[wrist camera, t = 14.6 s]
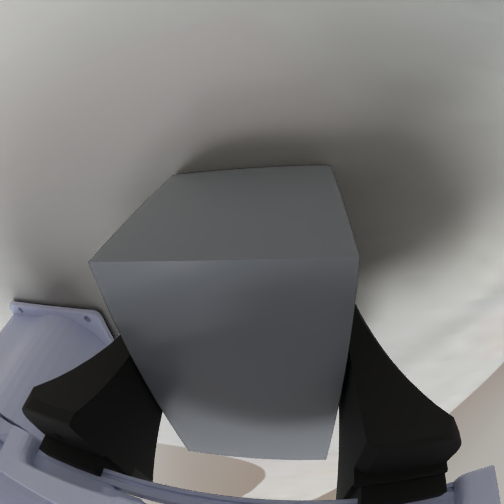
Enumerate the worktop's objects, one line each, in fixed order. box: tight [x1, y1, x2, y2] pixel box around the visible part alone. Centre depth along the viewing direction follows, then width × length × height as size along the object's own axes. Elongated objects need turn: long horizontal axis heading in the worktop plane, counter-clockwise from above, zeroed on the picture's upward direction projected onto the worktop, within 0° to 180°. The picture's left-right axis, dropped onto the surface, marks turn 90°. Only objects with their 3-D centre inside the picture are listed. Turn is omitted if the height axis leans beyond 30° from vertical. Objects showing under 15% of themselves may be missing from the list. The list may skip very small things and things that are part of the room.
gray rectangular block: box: [88, 165, 360, 460], centre depth 12 cm, size 6×10×6 cm, turn 6°
